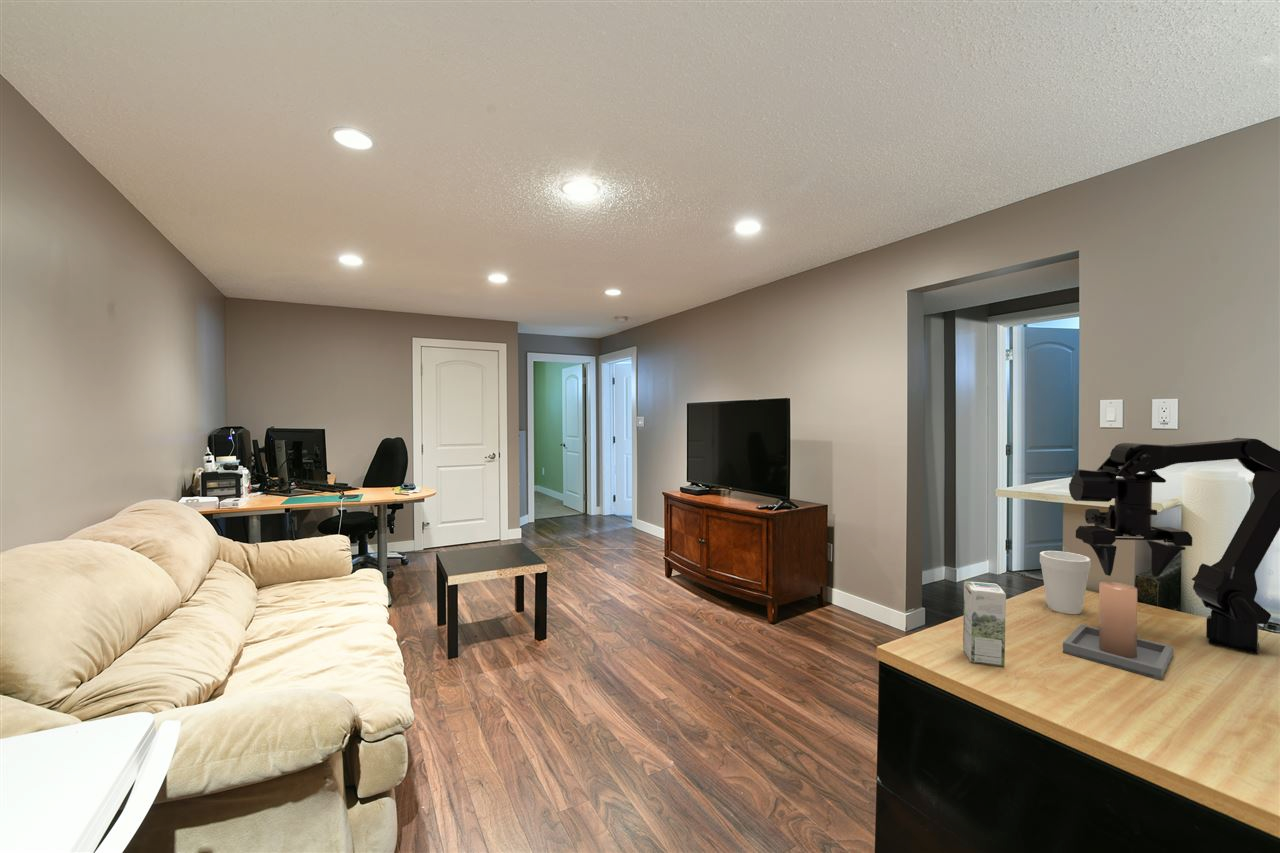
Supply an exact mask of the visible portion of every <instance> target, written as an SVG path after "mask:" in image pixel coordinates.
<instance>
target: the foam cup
mask: <svg viewBox="0 0 1280 853" xmlns="http://www.w3.org/2000/svg"><path fill="white" fill-rule="evenodd" d="M1091 562H1092V561H1091V558H1090V557H1088V556H1086V555H1082V554H1078V553H1074V552H1068V551H1060V550H1045V551H1044V550H1043V551H1041V552H1039V563H1040V565H1041V572H1042V580H1043V586H1044V593H1045V600H1046V604H1047V608H1048V609H1049V608H1050V610H1052V611H1053V612H1057V613H1061V614H1066V615H1079V614H1081V613H1082V610H1083V605H1084V599H1085V596H1086V589H1087V584H1088V578H1089V574H1090V570H1091V567H1092V566H1091V564H1092V563H1091Z"/></svg>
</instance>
